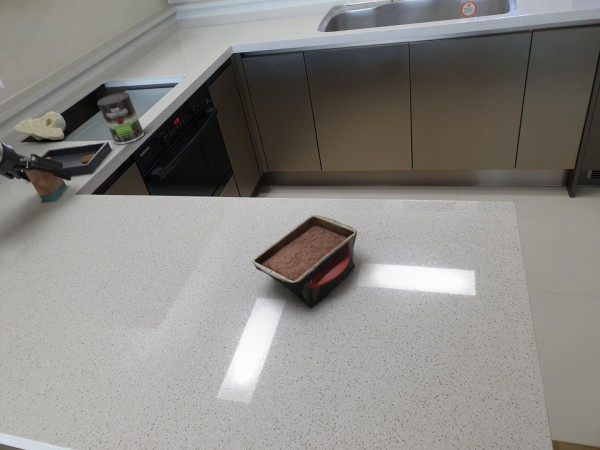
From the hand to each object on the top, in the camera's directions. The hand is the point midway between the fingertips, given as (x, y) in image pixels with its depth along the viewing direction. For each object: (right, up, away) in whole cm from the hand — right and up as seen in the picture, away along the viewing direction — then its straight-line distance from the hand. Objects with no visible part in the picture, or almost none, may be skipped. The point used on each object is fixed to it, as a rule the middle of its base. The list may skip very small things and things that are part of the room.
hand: (55, 178), depth 133 cm
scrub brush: (0, -5, -1) cm, 5 cm away
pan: (-3, +6, +14) cm, 16 cm away
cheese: (-23, +17, +37) cm, 47 cm away
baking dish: (+73, -23, -47) cm, 90 cm away
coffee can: (+12, +16, +25) cm, 32 cm away
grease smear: (+4, +7, +13) cm, 15 cm away
